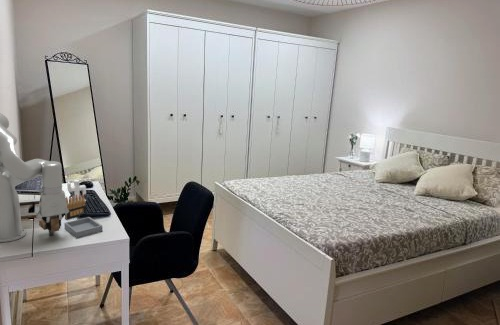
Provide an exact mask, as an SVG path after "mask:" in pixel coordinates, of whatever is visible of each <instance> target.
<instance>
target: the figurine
mask: <svg viewBox="0 0 500 325" xmlns="http://www.w3.org/2000/svg"><path fill="white" fill-rule="evenodd" d="M66 184H67V192H69V193H72V192H73V193H74V198H76V195H77V196H78V201H79V194H80V195H81V193H80V191H81V192H82V194H84V195H86V194H87V186H86V185H85V184H82V185H81V184H80V180H79V179H73V186H72V184H71V182H69V181H68V182H67V183H66ZM81 200H82V196H81ZM71 201H72V197H71ZM86 202H87V199H85V203H86Z"/></svg>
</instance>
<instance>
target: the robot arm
mask: <svg viewBox="0 0 500 325" xmlns="http://www.w3.org/2000/svg"><path fill="white" fill-rule="evenodd" d="M9 125H10V121H9V119H8V117H7V116H5V115H4V114H3V113H0V243H8V242H14V241H17V240H19V239H21V238H24V237H25V236H26V235H27V232H26V229H25V228H23V227H22V218H21V206H20V198H19V193H18V192H17V190H16V186H18V185H21V184H23V183H25V182H26V181H27V182H28V181H31V180H33V179H35V178H37V177H41V180H42V181H41V184H42V186H41V188H39V189H38V192H39V193H40V197H39V204H38V205H39V206H38V207H39V208H38V211H37V213H36V216H35V218H36V219H39V220H41V219H42V220H44V221H45V222H46V230H48V232H49V231H51V222H50V216H55V215H56V216H57V217H58V218H59V230H60V229H61V226H62V219H63V218H65V214H67V213H68V212H69V210H68V208H67V203H66V197H67V196H66V192H65V191H64V190H63V172H62V171H63V167H62V163H61V162H59V161H56V160H47V159H42V158H34V159H29V160H27V161H24V160H22V159H21V158H20V156H18V154H17V153H16V150H15V146H16V144H17V142H18V139H17V137H16V136H15V135H14V134H12V132H11V131H9V130H8V128H9V127H10V126H9Z"/></svg>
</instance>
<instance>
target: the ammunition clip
mask: <svg viewBox="0 0 500 325" xmlns="http://www.w3.org/2000/svg"><path fill="white" fill-rule="evenodd" d="M65 197H66V203H67V208H68V210H69V212H68V213H67V214H65V215H64V219H65V220H67V221H68V220H72V219H75V218H78V217H80V216H79V213H81V212H86V213H87V207H86V206H87V205H86V202H85V200H86V199H85V194H83V193H82V194H81V193H80V194H79V201H78V196H77V195H76V198H75V194H74V195H72V196H68V197H67V196H65ZM81 197H82V200H81ZM71 198H72V201H71Z"/></svg>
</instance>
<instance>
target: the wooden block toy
mask: <svg viewBox="0 0 500 325" xmlns="http://www.w3.org/2000/svg"><path fill="white" fill-rule="evenodd" d="M50 222H51V232H54V233H55V232H58V231H60V229H59V218H58V217H57V215H55V216H50ZM38 225H39V227H41V229H43V230H44V231H45V230H47V229H46V222H45V221H44V220H42V219H39V220H38Z"/></svg>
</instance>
